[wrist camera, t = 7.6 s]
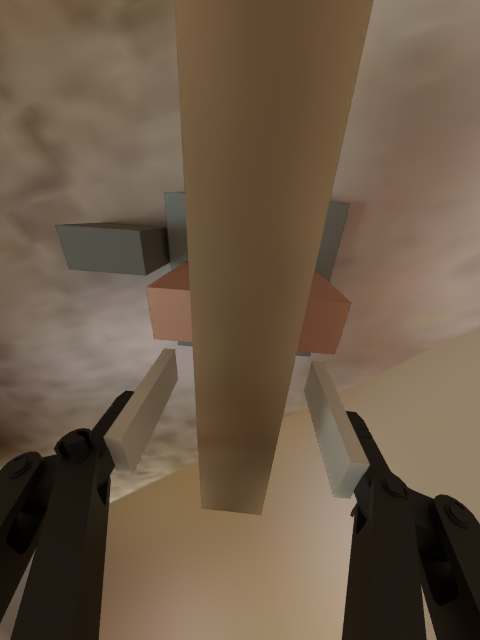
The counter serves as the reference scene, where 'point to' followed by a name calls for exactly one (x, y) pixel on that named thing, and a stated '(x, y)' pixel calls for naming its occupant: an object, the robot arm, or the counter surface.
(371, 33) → the counter surface
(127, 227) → the grey blocks
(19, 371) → the counter surface
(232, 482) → the rod
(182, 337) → the fulcrum
